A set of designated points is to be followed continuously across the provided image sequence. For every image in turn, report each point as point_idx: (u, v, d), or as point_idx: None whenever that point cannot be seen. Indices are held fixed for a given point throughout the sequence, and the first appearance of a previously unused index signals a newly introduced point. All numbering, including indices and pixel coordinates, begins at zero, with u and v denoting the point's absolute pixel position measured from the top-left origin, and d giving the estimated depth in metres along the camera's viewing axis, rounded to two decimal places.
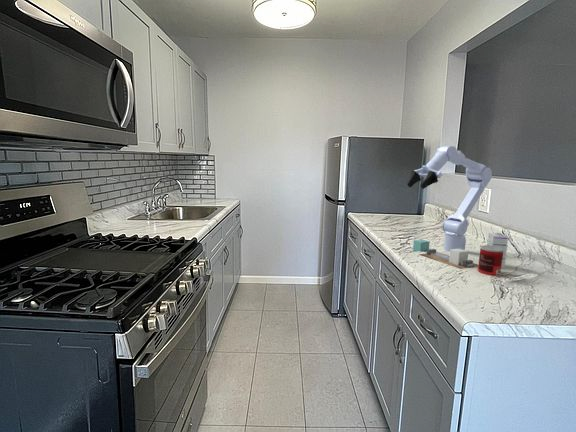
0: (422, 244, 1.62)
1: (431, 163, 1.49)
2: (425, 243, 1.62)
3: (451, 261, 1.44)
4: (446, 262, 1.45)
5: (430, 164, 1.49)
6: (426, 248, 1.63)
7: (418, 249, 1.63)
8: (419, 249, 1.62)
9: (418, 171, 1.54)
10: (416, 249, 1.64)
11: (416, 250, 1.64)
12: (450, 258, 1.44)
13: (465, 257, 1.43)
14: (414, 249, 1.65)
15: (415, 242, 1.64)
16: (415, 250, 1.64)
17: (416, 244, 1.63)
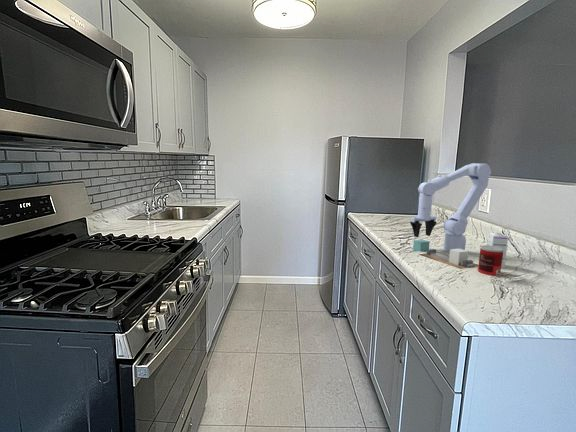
0: (422, 244, 1.62)
1: None
2: (425, 243, 1.62)
3: (451, 261, 1.44)
4: (446, 262, 1.45)
5: None
6: (426, 248, 1.63)
7: (418, 249, 1.63)
8: (419, 249, 1.62)
9: None
10: (416, 249, 1.64)
11: (416, 250, 1.64)
12: (450, 258, 1.44)
13: (465, 257, 1.43)
14: (414, 249, 1.65)
15: (415, 242, 1.64)
16: (415, 250, 1.64)
17: (416, 244, 1.63)
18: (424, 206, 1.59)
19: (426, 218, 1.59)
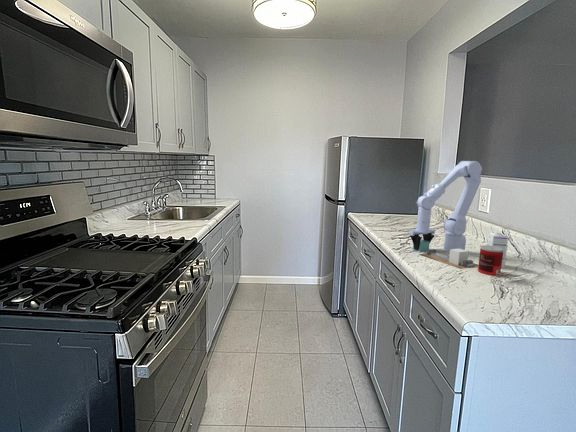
0: (422, 244, 1.62)
1: None
2: (425, 243, 1.62)
3: (451, 261, 1.44)
4: (446, 262, 1.45)
5: None
6: (426, 248, 1.63)
7: (418, 249, 1.63)
8: (419, 249, 1.62)
9: None
10: None
11: (416, 250, 1.64)
12: (450, 258, 1.44)
13: (465, 257, 1.43)
14: (414, 249, 1.65)
15: None
16: (415, 250, 1.64)
17: None
18: (423, 220, 1.60)
19: (425, 231, 1.60)
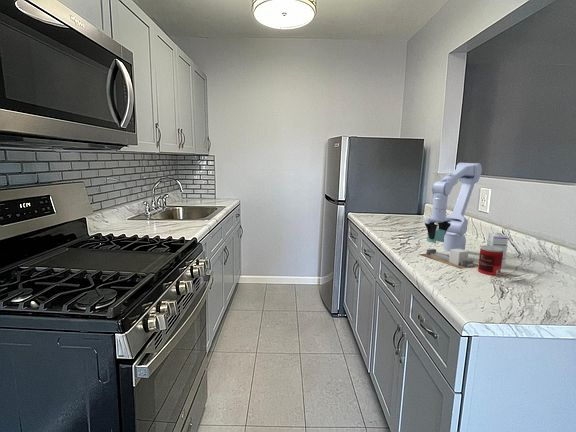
0: (437, 233, 1.52)
1: None
2: (440, 232, 1.52)
3: (451, 261, 1.44)
4: (446, 262, 1.45)
5: None
6: (441, 237, 1.53)
7: None
8: (434, 238, 1.52)
9: None
10: None
11: (431, 239, 1.54)
12: (450, 258, 1.44)
13: (465, 257, 1.43)
14: (428, 239, 1.55)
15: None
16: (429, 240, 1.54)
17: None
18: (443, 207, 1.49)
19: (441, 219, 1.50)
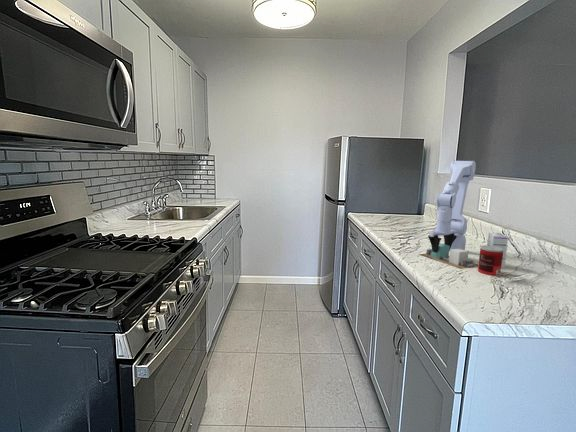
0: (442, 249, 1.49)
1: None
2: (445, 247, 1.50)
3: (451, 261, 1.44)
4: (446, 262, 1.45)
5: None
6: (446, 253, 1.51)
7: (437, 254, 1.50)
8: (438, 254, 1.50)
9: None
10: (434, 254, 1.52)
11: (435, 255, 1.51)
12: (450, 258, 1.44)
13: (465, 257, 1.43)
14: (433, 254, 1.52)
15: None
16: (434, 255, 1.52)
17: None
18: (449, 219, 1.47)
19: (446, 232, 1.48)
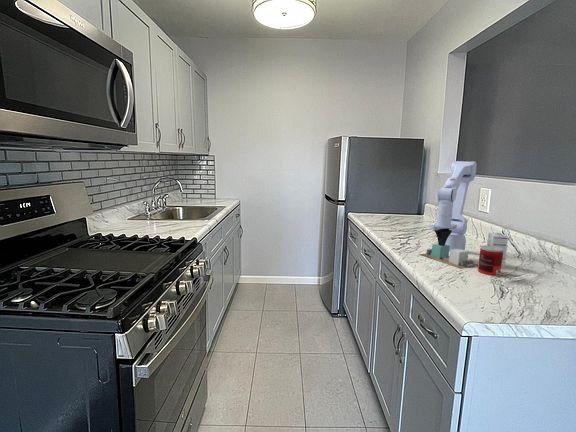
0: (442, 249, 1.49)
1: None
2: (445, 247, 1.50)
3: (451, 261, 1.44)
4: (446, 262, 1.45)
5: None
6: (446, 253, 1.51)
7: (437, 254, 1.50)
8: (438, 254, 1.50)
9: None
10: (434, 254, 1.52)
11: (435, 255, 1.51)
12: (450, 258, 1.44)
13: (465, 257, 1.43)
14: (433, 254, 1.52)
15: (434, 246, 1.52)
16: (434, 255, 1.52)
17: (435, 248, 1.51)
18: (450, 213, 1.47)
19: (446, 226, 1.47)
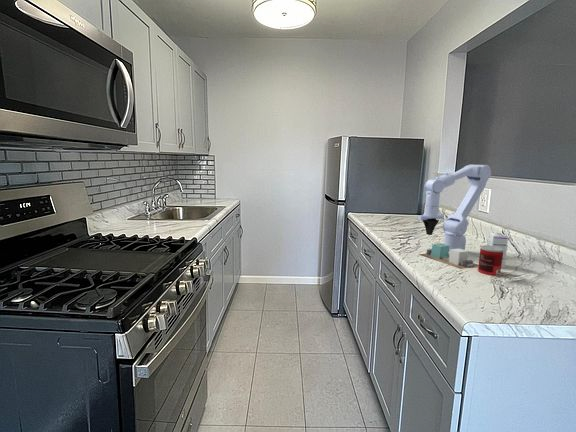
0: (442, 248, 1.49)
1: None
2: (445, 247, 1.50)
3: (451, 261, 1.44)
4: (446, 262, 1.45)
5: None
6: (446, 253, 1.51)
7: (437, 254, 1.50)
8: (438, 254, 1.50)
9: None
10: (434, 254, 1.52)
11: (435, 255, 1.51)
12: (450, 258, 1.44)
13: (465, 257, 1.43)
14: (433, 254, 1.52)
15: (434, 246, 1.52)
16: (434, 255, 1.52)
17: (435, 248, 1.51)
18: (433, 204, 1.55)
19: (433, 216, 1.55)
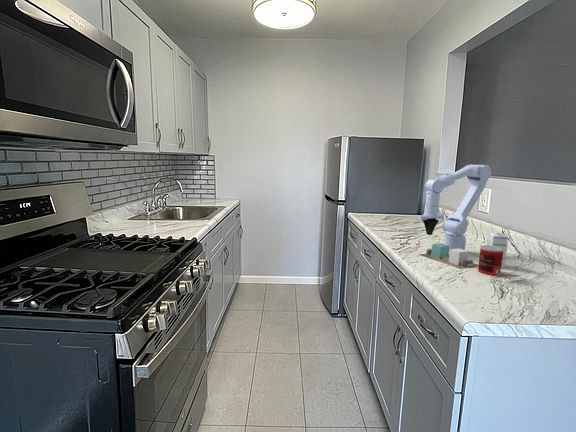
0: (442, 248, 1.49)
1: None
2: (445, 247, 1.50)
3: (451, 261, 1.44)
4: (446, 262, 1.45)
5: None
6: (446, 253, 1.51)
7: (437, 254, 1.50)
8: (438, 254, 1.50)
9: None
10: (434, 254, 1.52)
11: (435, 255, 1.51)
12: (450, 258, 1.44)
13: (465, 257, 1.43)
14: (433, 254, 1.52)
15: (434, 246, 1.52)
16: (434, 255, 1.52)
17: (435, 248, 1.51)
18: (433, 204, 1.55)
19: (433, 216, 1.55)
